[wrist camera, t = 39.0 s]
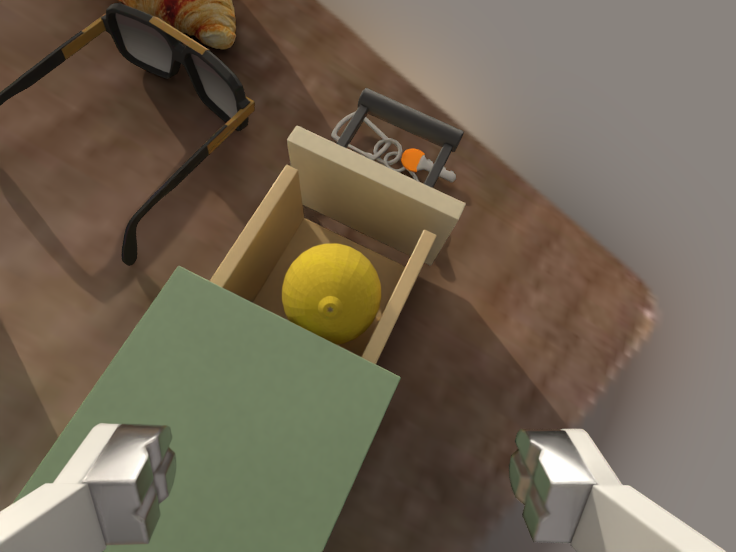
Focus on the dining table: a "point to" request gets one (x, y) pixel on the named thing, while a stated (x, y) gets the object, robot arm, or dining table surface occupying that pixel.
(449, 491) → the dining table surface
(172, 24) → the croissant
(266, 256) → the drawer
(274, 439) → the cabinet
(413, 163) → the key chain
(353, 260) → the lemon
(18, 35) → the dining table surface
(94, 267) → the dining table surface
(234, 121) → the sunglasses
